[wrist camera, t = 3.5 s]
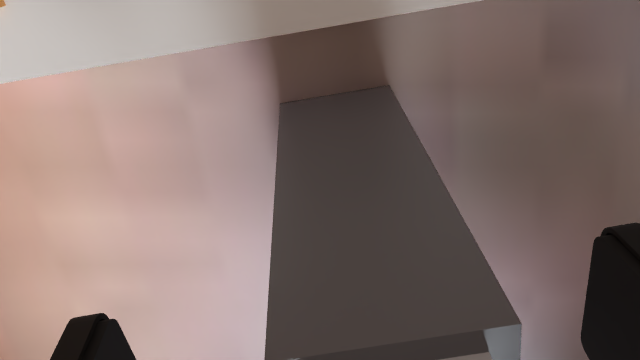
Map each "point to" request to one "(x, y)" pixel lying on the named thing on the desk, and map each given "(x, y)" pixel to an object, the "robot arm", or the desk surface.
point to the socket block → (161, 27)
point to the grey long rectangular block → (374, 244)
